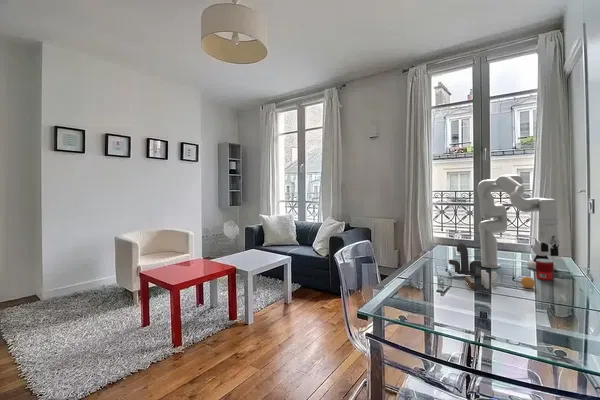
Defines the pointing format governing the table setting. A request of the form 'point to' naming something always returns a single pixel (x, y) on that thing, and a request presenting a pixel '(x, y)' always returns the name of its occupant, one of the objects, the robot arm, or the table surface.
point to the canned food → (545, 269)
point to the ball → (527, 282)
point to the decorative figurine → (538, 255)
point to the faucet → (465, 262)
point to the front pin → (494, 279)
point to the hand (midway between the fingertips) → (549, 253)
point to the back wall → (470, 282)
